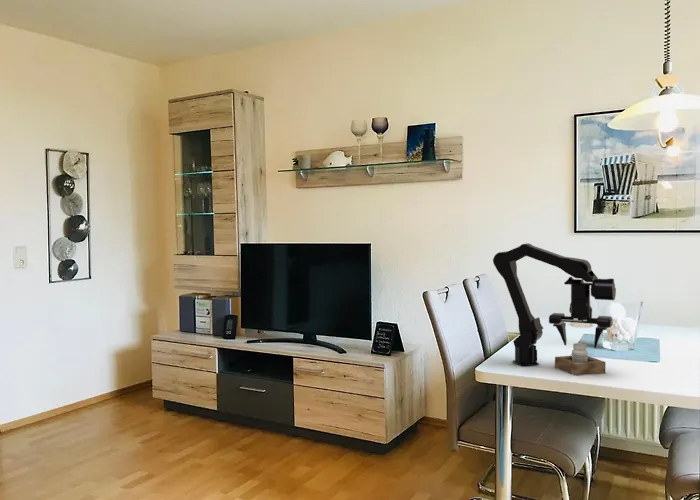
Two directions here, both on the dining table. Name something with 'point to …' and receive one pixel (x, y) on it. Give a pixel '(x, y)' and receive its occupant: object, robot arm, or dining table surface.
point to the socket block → (580, 365)
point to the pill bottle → (579, 353)
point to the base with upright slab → (581, 325)
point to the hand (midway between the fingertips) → (580, 346)
